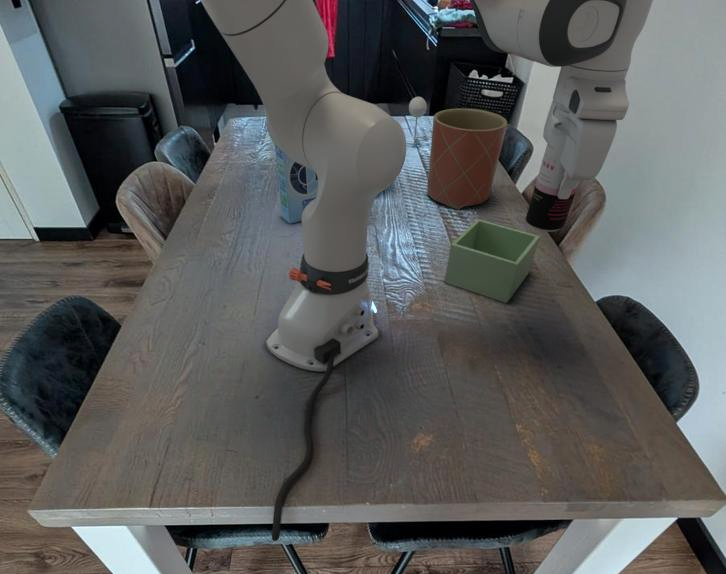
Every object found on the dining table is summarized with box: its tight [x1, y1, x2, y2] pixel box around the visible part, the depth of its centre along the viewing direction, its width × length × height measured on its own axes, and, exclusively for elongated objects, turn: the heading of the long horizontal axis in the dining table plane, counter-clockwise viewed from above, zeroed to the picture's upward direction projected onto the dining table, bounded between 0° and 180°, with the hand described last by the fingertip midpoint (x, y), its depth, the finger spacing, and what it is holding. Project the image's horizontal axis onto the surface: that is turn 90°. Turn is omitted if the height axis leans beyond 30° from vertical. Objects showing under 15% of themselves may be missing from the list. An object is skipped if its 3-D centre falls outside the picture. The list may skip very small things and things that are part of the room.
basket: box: [444, 218, 541, 304], centre depth 104 cm, size 15×15×9 cm
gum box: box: [274, 144, 318, 225], centre depth 120 cm, size 20×5×23 cm, turn 123°
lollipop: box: [408, 96, 428, 148], centre depth 161 cm, size 6×6×15 cm
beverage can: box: [525, 122, 581, 233], centre depth 77 cm, size 7×7×15 cm
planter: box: [426, 108, 508, 210], centre depth 131 cm, size 19×19×20 cm
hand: (556, 187), depth 78 cm, fingers closed on beverage can, 6 cm apart
